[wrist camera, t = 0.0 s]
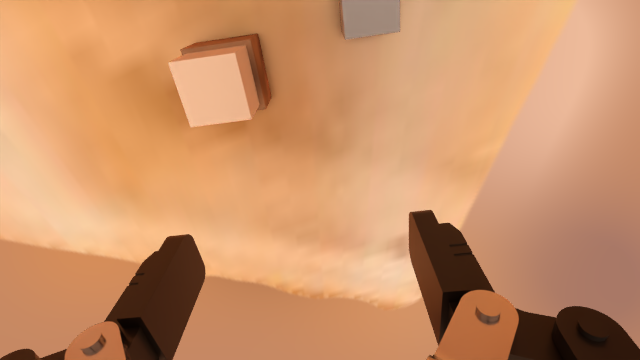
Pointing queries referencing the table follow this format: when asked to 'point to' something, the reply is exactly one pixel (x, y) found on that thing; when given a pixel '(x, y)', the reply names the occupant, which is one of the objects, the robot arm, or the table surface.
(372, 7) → the slate block
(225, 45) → the tower base
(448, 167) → the table surface
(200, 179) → the table surface
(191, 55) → the tower top
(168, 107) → the table surface
